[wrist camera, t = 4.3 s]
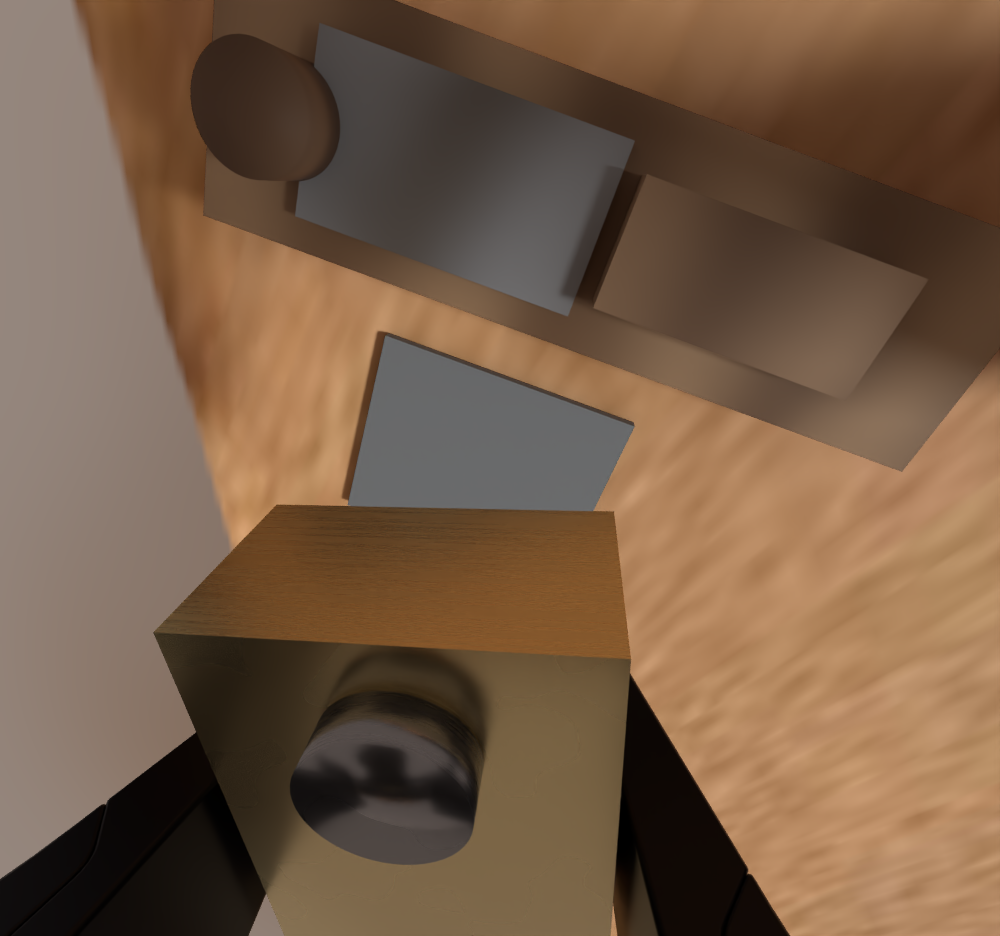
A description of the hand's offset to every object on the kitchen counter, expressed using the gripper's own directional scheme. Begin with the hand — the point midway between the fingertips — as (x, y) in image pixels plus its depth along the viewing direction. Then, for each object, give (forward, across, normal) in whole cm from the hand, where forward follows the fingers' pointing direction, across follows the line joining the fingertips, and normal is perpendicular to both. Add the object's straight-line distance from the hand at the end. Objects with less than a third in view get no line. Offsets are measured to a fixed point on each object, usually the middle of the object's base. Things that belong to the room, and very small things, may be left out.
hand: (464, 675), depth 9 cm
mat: (+14, +2, +3) cm, 14 cm away
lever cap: (0, 0, 0) cm, 1 cm away
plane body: (+14, -2, -6) cm, 15 cm away
